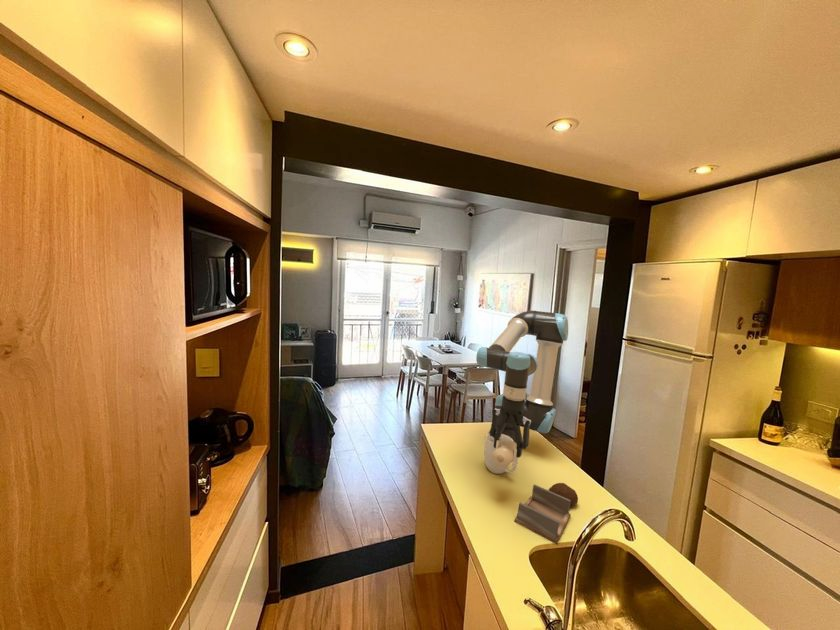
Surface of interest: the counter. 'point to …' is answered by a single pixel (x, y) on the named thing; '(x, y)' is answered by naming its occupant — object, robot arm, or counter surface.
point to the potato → (565, 492)
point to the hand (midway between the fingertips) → (505, 460)
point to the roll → (504, 454)
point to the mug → (489, 451)
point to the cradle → (544, 513)
